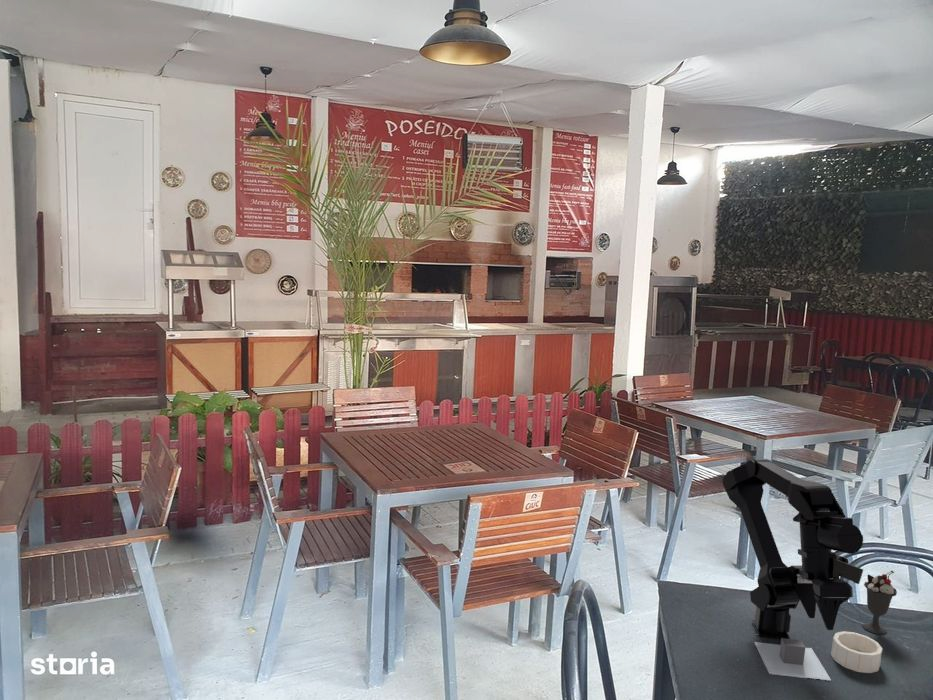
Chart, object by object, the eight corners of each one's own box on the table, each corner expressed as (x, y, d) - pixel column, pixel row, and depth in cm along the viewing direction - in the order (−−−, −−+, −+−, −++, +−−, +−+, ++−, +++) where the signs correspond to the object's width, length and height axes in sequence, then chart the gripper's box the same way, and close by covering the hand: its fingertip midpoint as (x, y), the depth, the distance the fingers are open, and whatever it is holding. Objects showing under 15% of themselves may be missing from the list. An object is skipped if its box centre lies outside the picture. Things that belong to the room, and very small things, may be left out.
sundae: (895, 638, 166) (904, 576, 163) (863, 634, 167) (872, 572, 165) (885, 624, 172) (894, 563, 170) (854, 619, 173) (862, 560, 171)
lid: (769, 676, 149) (771, 655, 149) (754, 645, 161) (756, 625, 161) (830, 683, 148) (833, 661, 147) (811, 651, 160) (813, 631, 159)
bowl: (841, 670, 152) (843, 652, 151) (825, 646, 161) (827, 629, 160) (886, 675, 151) (889, 657, 150) (868, 651, 160) (871, 634, 159)
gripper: (877, 553, 142) (883, 637, 141) (836, 539, 161) (841, 612, 159) (818, 553, 143) (823, 636, 141) (784, 539, 162) (788, 612, 160)
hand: (820, 623), depth 150 cm, fingers open, 9 cm apart
